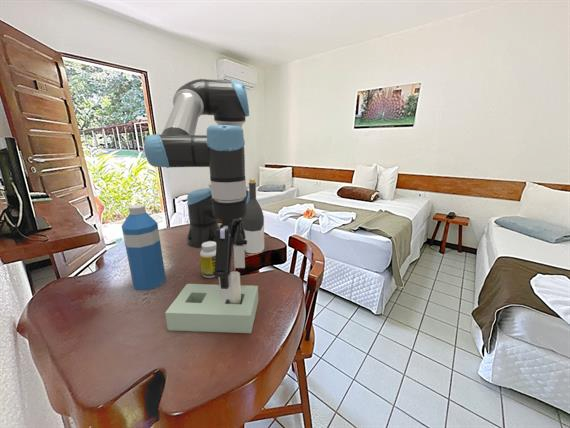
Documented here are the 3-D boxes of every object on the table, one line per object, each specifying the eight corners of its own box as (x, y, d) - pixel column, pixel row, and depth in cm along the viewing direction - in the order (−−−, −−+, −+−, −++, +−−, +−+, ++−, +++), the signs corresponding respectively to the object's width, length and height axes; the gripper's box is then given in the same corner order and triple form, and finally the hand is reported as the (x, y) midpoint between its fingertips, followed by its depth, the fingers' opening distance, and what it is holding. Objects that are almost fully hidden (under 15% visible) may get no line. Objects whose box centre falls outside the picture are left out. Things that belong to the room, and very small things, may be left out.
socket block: (188, 299, 69) (186, 283, 68) (258, 301, 69) (258, 285, 67) (167, 330, 58) (165, 312, 57) (251, 333, 57) (250, 315, 56)
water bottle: (172, 278, 80) (161, 204, 73) (146, 293, 72) (131, 212, 64) (152, 271, 84) (141, 201, 76) (125, 286, 75) (109, 208, 68)
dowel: (231, 311, 65) (229, 271, 61) (242, 311, 65) (241, 271, 61) (228, 319, 62) (226, 277, 58) (240, 319, 62) (238, 277, 58)
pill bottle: (215, 279, 79) (213, 248, 76) (198, 277, 80) (195, 246, 77) (224, 270, 85) (221, 241, 82) (207, 268, 86) (205, 239, 83)
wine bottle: (245, 248, 102) (242, 177, 94) (264, 248, 103) (263, 177, 94) (243, 257, 95) (239, 180, 86) (263, 257, 95) (262, 180, 86)
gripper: (227, 187, 66) (231, 257, 73) (189, 215, 43) (201, 315, 49) (254, 187, 66) (256, 257, 72) (232, 216, 42) (238, 316, 49)
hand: (234, 281), depth 61 cm, fingers open, 13 cm apart
